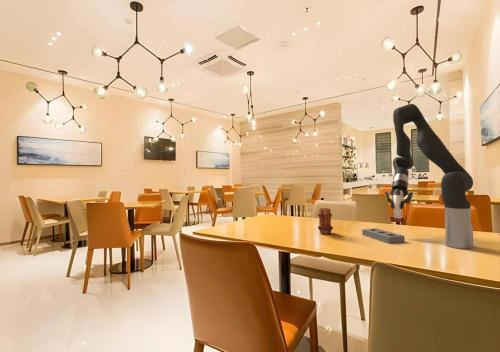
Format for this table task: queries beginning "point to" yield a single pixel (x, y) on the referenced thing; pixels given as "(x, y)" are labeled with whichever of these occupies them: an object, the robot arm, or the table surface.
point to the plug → (397, 205)
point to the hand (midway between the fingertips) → (396, 207)
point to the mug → (325, 221)
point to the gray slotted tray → (383, 235)
